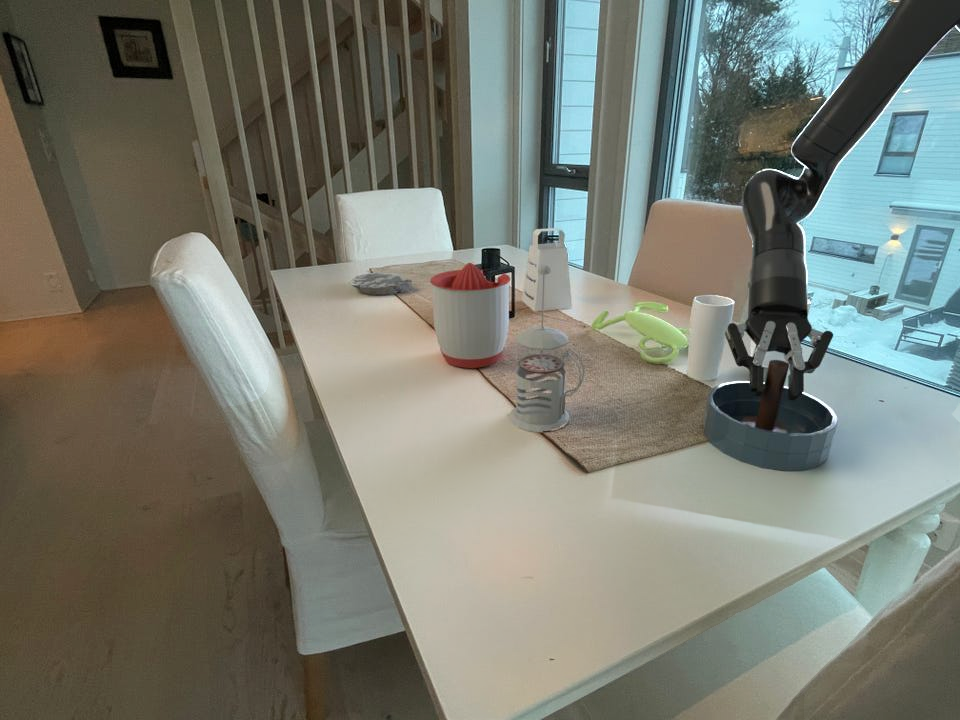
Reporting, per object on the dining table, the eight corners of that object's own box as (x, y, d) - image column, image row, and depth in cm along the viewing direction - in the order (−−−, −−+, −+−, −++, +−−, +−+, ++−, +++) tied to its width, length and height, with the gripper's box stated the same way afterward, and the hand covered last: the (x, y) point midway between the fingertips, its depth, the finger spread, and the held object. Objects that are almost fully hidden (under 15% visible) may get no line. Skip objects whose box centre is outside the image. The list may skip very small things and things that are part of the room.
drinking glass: (683, 383, 93) (695, 304, 87) (679, 368, 99) (690, 293, 93) (723, 386, 92) (738, 306, 86) (717, 371, 98) (730, 295, 92)
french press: (523, 397, 89) (525, 255, 79) (588, 411, 84) (599, 261, 74) (499, 423, 81) (498, 269, 72) (569, 441, 76) (578, 277, 66)
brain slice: (337, 290, 156) (336, 281, 155) (380, 279, 168) (379, 270, 167) (378, 301, 145) (377, 291, 144) (422, 288, 157) (421, 279, 155)
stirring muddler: (780, 430, 77) (798, 357, 72) (789, 451, 72) (809, 374, 67) (736, 424, 79) (751, 352, 74) (742, 445, 73) (758, 369, 69)
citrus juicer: (529, 352, 108) (531, 258, 100) (477, 381, 96) (474, 276, 88) (473, 337, 117) (471, 249, 110) (419, 361, 105) (412, 265, 97)
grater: (521, 300, 143) (522, 227, 135) (556, 297, 145) (559, 225, 138) (535, 311, 134) (537, 234, 126) (572, 307, 136) (576, 231, 128)
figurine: (649, 316, 128) (651, 295, 126) (728, 355, 105) (733, 329, 103) (583, 326, 123) (585, 303, 121) (652, 368, 100) (655, 341, 97)
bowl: (810, 422, 80) (819, 388, 78) (841, 483, 66) (854, 444, 64) (698, 408, 85) (704, 375, 82) (706, 463, 71) (713, 425, 68)
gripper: (730, 271, 75) (725, 381, 69) (842, 277, 71) (847, 394, 65) (720, 296, 81) (715, 398, 76) (822, 303, 77) (825, 411, 71)
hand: (776, 395), depth 70 cm, fingers open, 3 cm apart
